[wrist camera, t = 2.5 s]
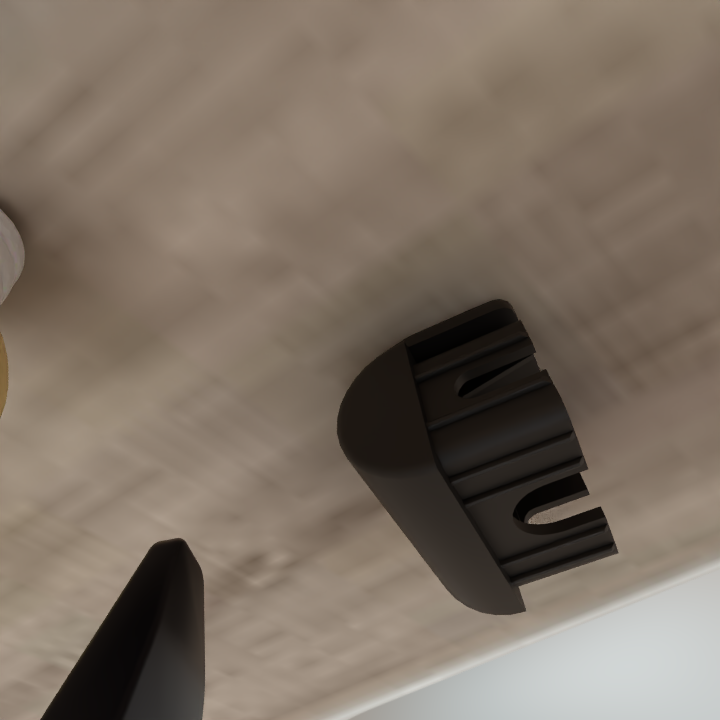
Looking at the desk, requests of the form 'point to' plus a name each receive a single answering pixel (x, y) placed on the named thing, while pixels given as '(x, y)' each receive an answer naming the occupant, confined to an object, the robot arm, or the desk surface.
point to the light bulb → (8, 284)
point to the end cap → (473, 457)
